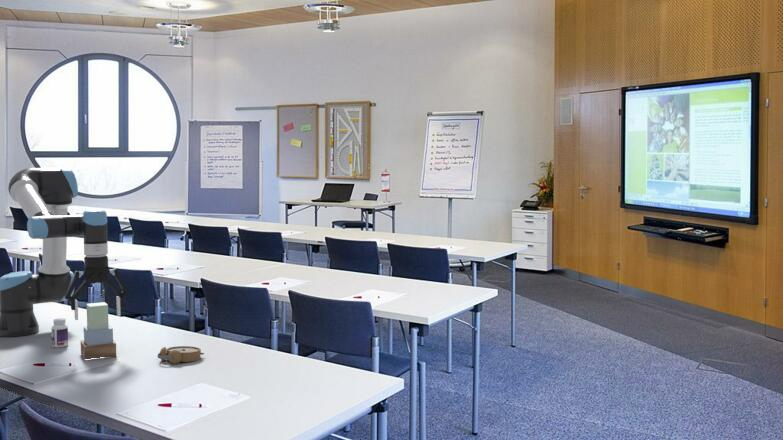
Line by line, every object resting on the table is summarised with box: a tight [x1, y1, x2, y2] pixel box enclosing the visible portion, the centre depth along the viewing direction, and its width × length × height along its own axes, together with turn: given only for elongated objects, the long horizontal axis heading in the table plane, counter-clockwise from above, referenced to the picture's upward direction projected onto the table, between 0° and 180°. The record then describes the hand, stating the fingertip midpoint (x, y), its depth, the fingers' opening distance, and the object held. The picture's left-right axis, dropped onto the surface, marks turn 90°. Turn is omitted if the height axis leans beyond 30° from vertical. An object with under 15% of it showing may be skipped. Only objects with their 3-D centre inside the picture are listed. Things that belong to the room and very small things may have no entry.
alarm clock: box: [157, 345, 205, 365], centre depth 253 cm, size 11×5×15 cm
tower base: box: [80, 339, 117, 360], centre depth 258 cm, size 10×10×5 cm
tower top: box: [83, 324, 114, 346], centre depth 258 cm, size 8×8×5 cm
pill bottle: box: [51, 317, 69, 348], centre depth 271 cm, size 5×5×10 cm
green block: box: [86, 301, 110, 330], centre depth 258 cm, size 6×6×8 cm
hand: (97, 317), depth 257 cm, fingers open, 13 cm apart
